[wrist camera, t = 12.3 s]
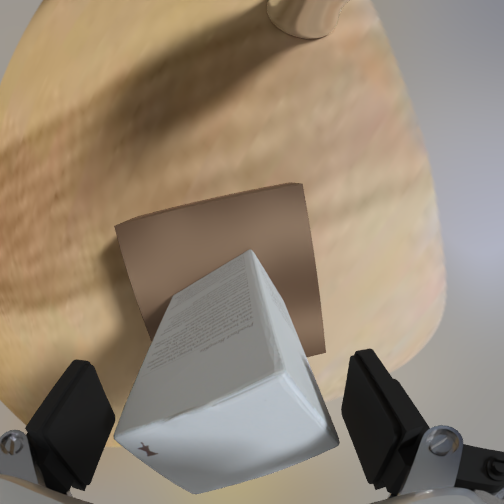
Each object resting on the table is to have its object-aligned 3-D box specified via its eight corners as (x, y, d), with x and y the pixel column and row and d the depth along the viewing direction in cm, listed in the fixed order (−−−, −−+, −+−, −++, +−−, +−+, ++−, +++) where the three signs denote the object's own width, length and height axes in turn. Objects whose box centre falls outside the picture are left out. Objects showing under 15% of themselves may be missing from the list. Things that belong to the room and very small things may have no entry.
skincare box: (209, 342, 19) (190, 497, 8) (172, 294, 18) (104, 437, 7) (287, 299, 19) (345, 447, 7) (253, 245, 18) (282, 367, 6)
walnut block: (139, 215, 22) (114, 225, 17) (288, 182, 22) (302, 183, 17) (179, 346, 25) (168, 379, 20) (311, 321, 25) (325, 352, 20)
